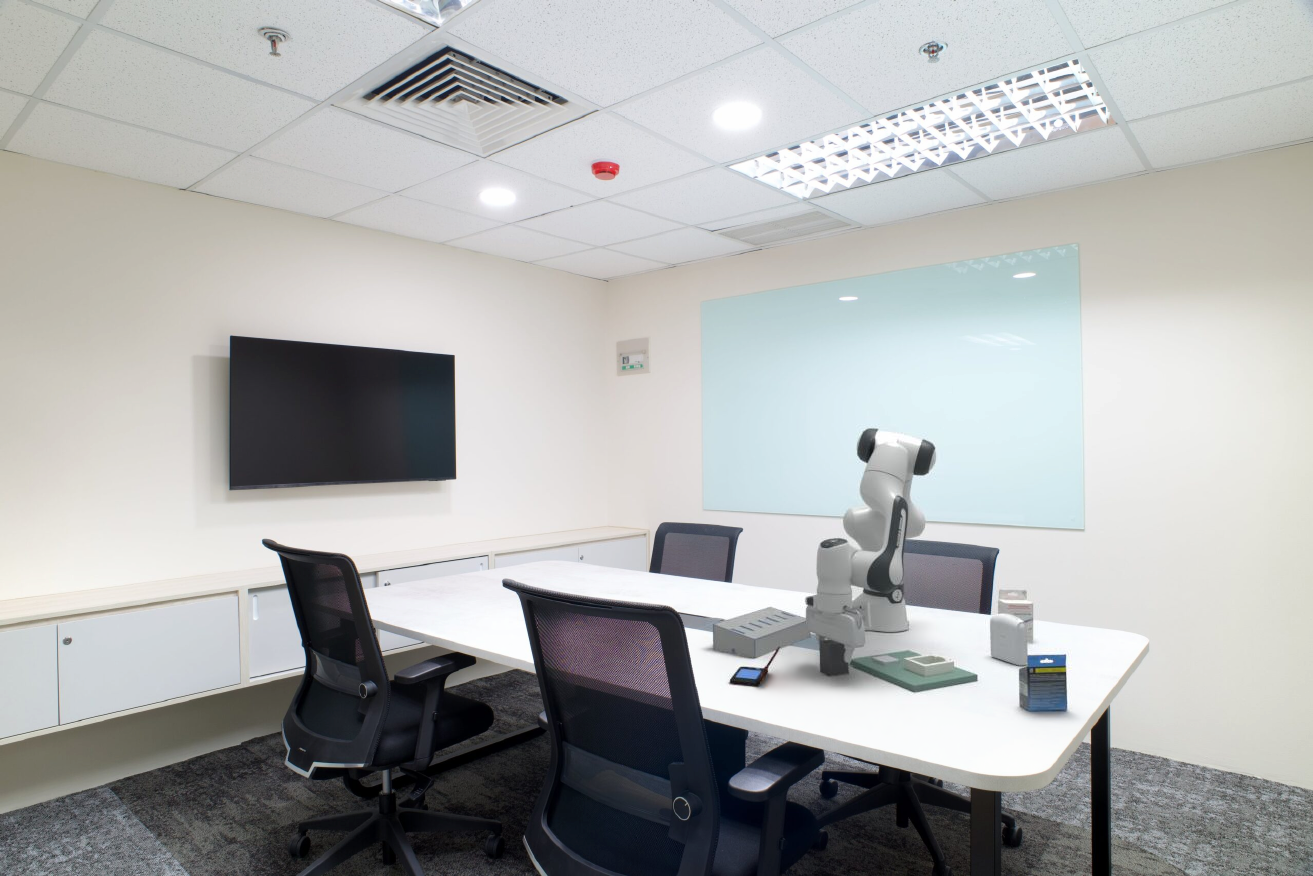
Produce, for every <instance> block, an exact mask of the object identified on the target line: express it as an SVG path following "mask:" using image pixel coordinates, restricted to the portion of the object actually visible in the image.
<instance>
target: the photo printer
mask: <svg viewBox="0 0 1313 876" xmlns="http://www.w3.org/2000/svg"><path fill="white" fill-rule="evenodd" d="M989 633H990V634H989V635H990V636H989V637H990V656H991V657H992V658H995V659H998V660H1001V661H1004V662H1007V663H1009V664H1012V665H1016V666H1027V659H1028V658H1027V655H1029V654H1028V651H1029V650H1028V643H1027V626H1026V623H1025V622H1024V621H1022V620H1021V619H1019V618H1017V617H1015V616H1013V615H1009V614H998V613H996V614H992V615H991V617H990V620H989Z"/></svg>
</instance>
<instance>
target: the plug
mask: <svg viewBox="0 0 1313 876" xmlns="http://www.w3.org/2000/svg"><path fill="white" fill-rule="evenodd" d="M819 642H820V651H819V673H820V674H823V675H825V676H827V677H837V676H842V675H849V674H850V673H849V671H850V667H849V665H850V662H848V663H846V662H844V661H842V654H845V651H846V649H845V648H844V644H841V643H839V642H836V641H833V640H831V639H825V640H824V641H819Z"/></svg>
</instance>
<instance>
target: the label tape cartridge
mask: <svg viewBox="0 0 1313 876" xmlns="http://www.w3.org/2000/svg"><path fill="white" fill-rule="evenodd" d="M1027 658H1028V659H1027V664H1026V666H1024V667H1021V668H1019V669H1018V695H1019V696H1018V697H1019V698H1018V699H1019V700H1018V701H1019V704H1018V705H1019V707H1021V708H1022V709H1024V710H1026V711H1027V712H1043V711H1044V712H1045V711H1046V712H1047V711H1067V710H1068V688H1067V684H1068V683H1067V679H1068V678H1067V653H1066V654H1028V655H1027ZM1046 660H1048V661H1052V662H1042V661H1046Z"/></svg>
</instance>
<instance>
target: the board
mask: <svg viewBox="0 0 1313 876" xmlns="http://www.w3.org/2000/svg"><path fill="white" fill-rule="evenodd" d="M849 665H850V666H852V667H854V668H857V669H859V670H861V671H863V672H865V673H869V674H871V675H872V676H874V677H878V678H880V679H883V680H884V681H887V682H889V683H891V684H894V685H897V686H899V687H901V688H903V689H904V688H905V689H906V690H909V691H911V692H913V693H917V692H923V691H929V690H934V689H939V688H943V687H946V688H947V687H951V686H956V685H961V684H967V683H973V682H977V681H978V674H977V673H974V672H971V671H969V670H965V669H963V668H961V667H960V668H959V667H957V666H955V661H954V660H952V659H951V658H949V657H946V656H943V655H941V654H940V655H939V654H938V655H936V654H934V653H930V654H919V653H917V652H914V651H912V650H909V649H908V650H907V649H906V650H902V651H895V652H889V653H888V652H887V653H882V654H875V655H874V654H873V655H868V656H861V657H855V658H854V657H853V658H851V662H849Z"/></svg>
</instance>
